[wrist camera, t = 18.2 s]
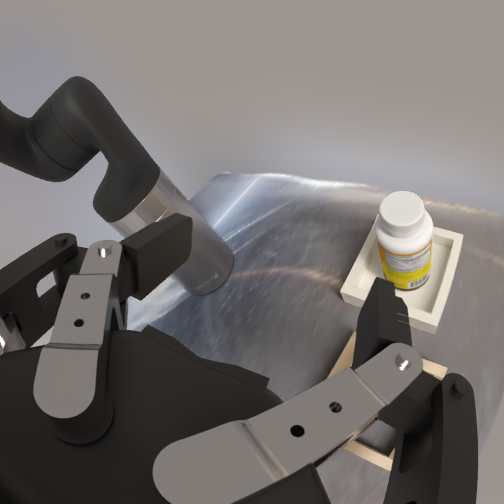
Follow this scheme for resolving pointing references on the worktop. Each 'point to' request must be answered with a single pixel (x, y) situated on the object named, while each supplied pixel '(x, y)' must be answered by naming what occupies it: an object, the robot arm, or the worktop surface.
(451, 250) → the parts tray
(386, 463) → the square wooden frame
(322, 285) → the worktop surface
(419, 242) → the supplement bottle
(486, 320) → the worktop surface
